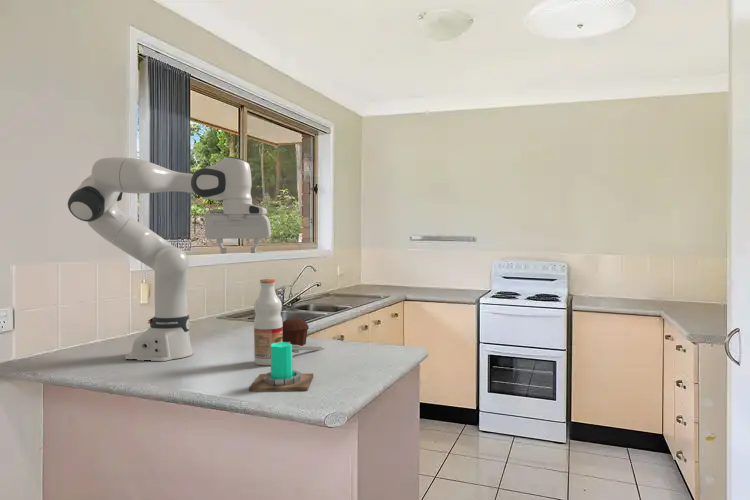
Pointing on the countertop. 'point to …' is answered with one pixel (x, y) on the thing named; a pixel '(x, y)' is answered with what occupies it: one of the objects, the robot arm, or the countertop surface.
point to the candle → (281, 360)
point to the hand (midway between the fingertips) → (238, 253)
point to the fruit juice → (267, 322)
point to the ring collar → (286, 381)
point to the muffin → (295, 331)
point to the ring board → (299, 386)
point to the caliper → (304, 348)
